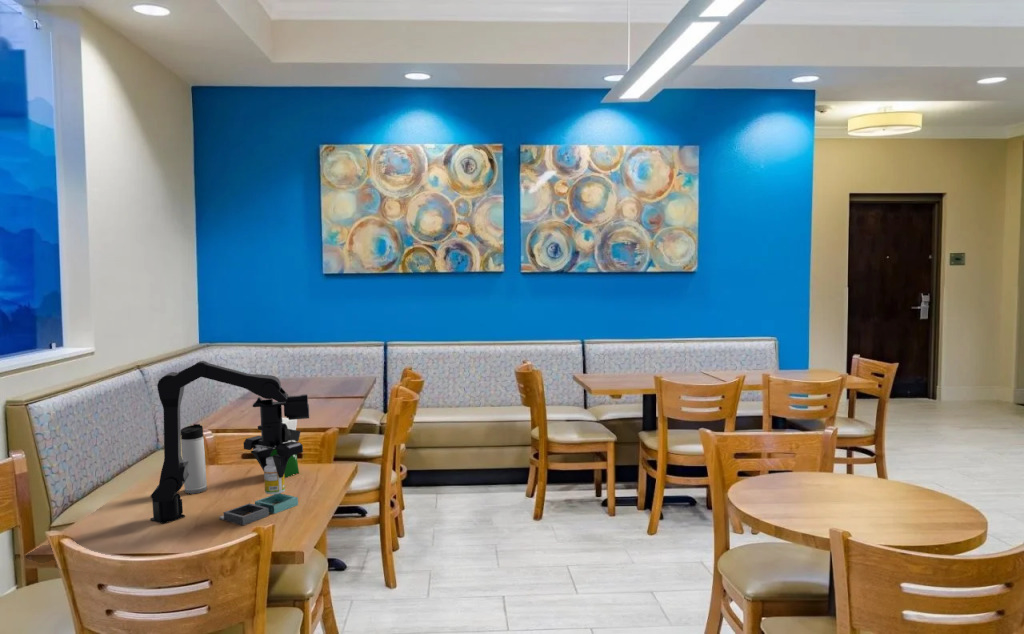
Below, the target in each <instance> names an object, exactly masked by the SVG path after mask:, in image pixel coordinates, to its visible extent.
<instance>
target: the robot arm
mask: <svg viewBox="0 0 1024 634" xmlns="http://www.w3.org/2000/svg"><path fill="white" fill-rule="evenodd" d="M200 378H204V379H209V380H212V381H216V382H220V383H224V384H228V385H232V386H234V387H239V388H243V389H245V390H247V391H249V392H251V393H253V394H254V395H256V396H258V397H257V399H256V400H255V401H254V402H253V404H252V408H260V409H259V410H260V411H259V414H260V416H259V417H260V425H258V426H257V430H258V431H261V435H255V436H252V437H247V438H246V439H245V440H244V441H243V450H247V451H250V454H252V455H253V456H254V458H255V460H256V461H257V463H258V464H259V466H260V467H261V469H262V471H263V472H264V467H265V466H267V464H266V458H268V457H270V455H271V453H272V451H273V449H274V450H277V455H273V460H274V463H275V467H276V470H277V473H278V476H279V478H282V477H283V475H284V472H285V469H286V465H287V463H288V460H289V458H290V457H291V456H292V455H295V454H297V455H299V454H302V453H303V452H304V448H303V444H302V443H301V442H299V440H300V436H301V432H302V431H301V430H297V429H296V430H292V429H288V428H287V425H286V424H285V423H282V418H289V420H295V419H297V420H305V419H306V420H307V419H310V404H309V397H308V394H306V393H304V394H299V395H289V394H288V393H287V391H285V390H284V389H283V387H282V383H281V381H280V379H279V378H278V377H277V376H275V375H272V374H271V375H270V374H262V373H261V374H257V373H254V374H252V373H247V372H243V371H239V370H236V369H232V368H228V367H225V366H222V365H217V364H213V363H209V362H207V361H206V360H200V361H197V362H196V363H195V364H194V365H191V366H189V367H187V368H184V370H180V371H178V372H177V371H174V372H173V371H172V372H168V373H166V374H165V375H163V376H162V377H161V378H160V379H159V380H158V382H157V393H158V397H159V401H160V403H161V405H162V409H163V453H164V454H163V455H164V456H163V457H164V458H163V464H162V467H161V470H160V476H159V482H158V485H157V486H156V488H155V489H154V491H152V492H151V494H150V498H151V502H152V516H153V517H151V518H150V520H149V521H151V522H154V523H158V524H162V525H166V524H169V523H171V522H174V521H176V520H177V521H178V520H179V519H183V518H186V515H185V514H183V512H184V510H183V499H182V498H181V493H178V492H179V491H180V490H181V489H182V487H184V483H185V481H186V479H187V478H188V476H189V473H188V463H189V462H188V461H187V462H183V459H182V445H181V441H182V440H181V429H182V428H181V403H182V400H183V396H184V391H185V387H186V385H189V384H190V383H192V382H194V381H196V380H198V379H200ZM262 398H264V399H262ZM282 406H283V407H282ZM282 408H283V410H282ZM283 413H284V414H283ZM283 416H284V417H283ZM289 440H290V441H291V442H288V441H289ZM292 440H294V441H296V442H293V441H292ZM283 442H287V443H284V444H283Z"/></svg>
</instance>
